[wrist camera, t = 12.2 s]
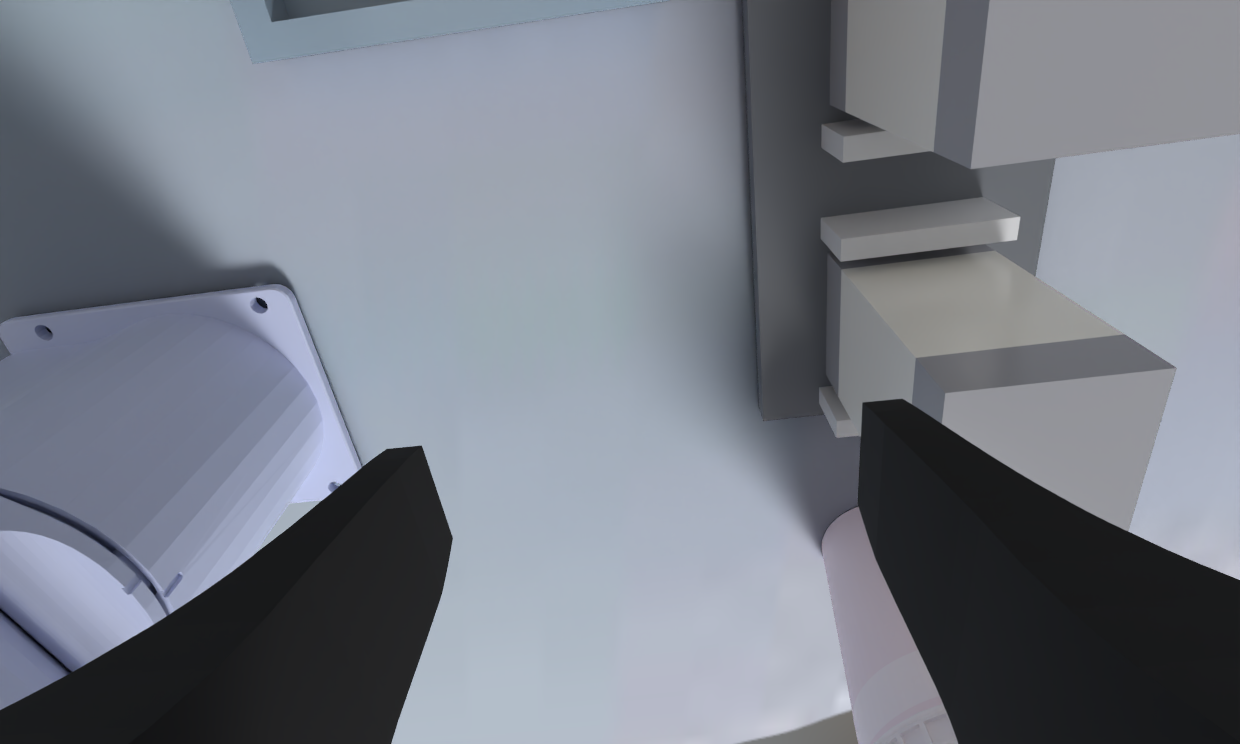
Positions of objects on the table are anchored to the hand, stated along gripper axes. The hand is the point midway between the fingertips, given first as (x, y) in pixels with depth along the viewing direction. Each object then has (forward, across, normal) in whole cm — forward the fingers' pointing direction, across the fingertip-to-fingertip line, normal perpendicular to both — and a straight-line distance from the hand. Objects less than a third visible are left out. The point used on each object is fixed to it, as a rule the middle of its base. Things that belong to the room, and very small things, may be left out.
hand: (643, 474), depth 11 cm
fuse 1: (+10, -7, -6) cm, 14 cm away
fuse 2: (+10, -7, +2) cm, 12 cm away
